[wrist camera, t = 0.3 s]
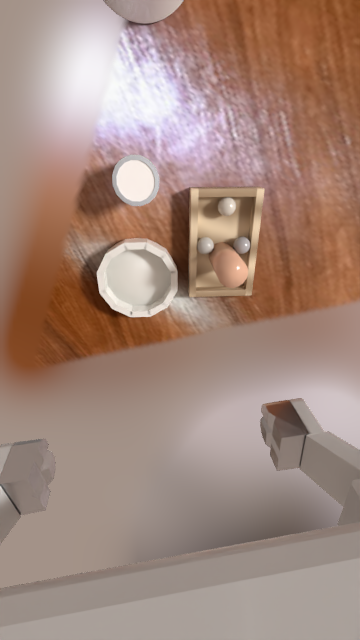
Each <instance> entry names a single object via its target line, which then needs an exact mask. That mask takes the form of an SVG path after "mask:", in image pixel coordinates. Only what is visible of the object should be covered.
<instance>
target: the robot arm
mask: <svg viewBox="0 0 360 640" xmlns="http://www.w3.org/2000/svg"><path fill="white" fill-rule="evenodd" d="M103 1H104V2H105V3H106V4H107V5H108V6H109V7H110V8H111V9H112V10H113V11H114V12H116V13H117V14H118V15H120V16H121V17H123V18H125V19H127V20H129V21H132V22H136V23H154V22H157V21H160V20H162V19H164V18H166V17H168V16H169V15H170V14H172V13H173V12H174V11H175V10H176V9H177V8H178V7H179V6H180V5H181V3H182V2H183V0H103ZM261 412H262V414H263V417H262V418H261V422H260V426H261V433H262V436H263V439H264V441H265V444H266V445H267V446H269V447H270V448H271V450H270V456H271V458H272V460H273V463H274V465H275V467H276V469H277V471H280V470H287V469H294V468H300V470H302V471H303V472H304V473H305V474H306V475H307V476H309V477H310V478H311V479H312V480H313V481H314V482H315V483H316V484H318V485H319V486H320V487H321V488H322V489H323V490H325V491H326V492H327V493H328V494H329V495H330V496H331V497H333V498H334V499H335V500H336V501H337V502H338V503H339V504H341V505H342V506H343V510H342V513H341V515H340V518H339V521H338V526H336V527H330V528H325V529H319V530H314V531H308V532H303V533H298V534H293V535H287V536H282V537H276V538H270V539H265V540H260V541H254V542H249V543H243V544H238V545H232V546H227V547H221V548H216V549H210V550H205V551H200V552H194V553H189V554H184V555H178V556H172V557H167V558H162V559H156V560H151V561H145V562H140V563H135V564H129V565H124V566H118V567H113V568H107V569H102V570H97V571H91V572H86V573H80V574H75V575H70V576H64V577H59V578H54V579H48V580H43V581H37V582H32V583H26V584H21V585H15V586H10V587H5V588H0V640H360V450H359V449H357V448H355V447H354V446H352V445H351V444H348V443H347V442H346V441H344V440H342V439H340V438H339V437H337V436H336V435H334V434H332V433H330V432H329V431H327V432H325V431H324V430H323V428H322V427H321V425H320V424H319V422H318V421H317V419H316V418H315V416H314V415H313V413H312V412H311V410H310V409H309V407H308V406H307V404H306V403H305V401H304V400H303V399H302V398H298V399H291V400H285V401H279V402H272V403H267V404H263V405H262V408H261ZM48 445H49V444H48V443H47V441H46V439H38V440H30V441H23V442H15V443H8V444H1V446H0V544H1V543H2V541H3V540H4V539H5V538H6V536H7V535H8V533H9V532H10V531H11V529H12V528H13V527H14V525H15V524H16V523H17V521H18V520H19V519H20V517H21V516H20V515H24V514H30V513H34V512H39V511H45V510H46V507H47V503H48V499H49V495H50V489H49V488H48V485H49V484H50V482H51V481H52V480H53V479H54V474H55V458H54V455H53V453H52V452H51V451H49V450H47V449H48Z"/></svg>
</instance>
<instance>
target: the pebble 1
mask: <svg viewBox="0 0 360 640" xmlns="http://www.w3.org/2000/svg"><path fill="white" fill-rule="evenodd" d="M213 248H214V243H213V241H212V240H211V239H210V238H208V237H203V238H201V239H199V241H198V242H197V249H198V251H199V252H200V253H201V254H209V253H210V252H212V250H213Z"/></svg>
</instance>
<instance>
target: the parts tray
mask: <svg viewBox="0 0 360 640" xmlns="http://www.w3.org/2000/svg"><path fill="white" fill-rule="evenodd" d="M225 197H230V198H232V199H233V200H234V201H235V203H236V209H235V211H234V213H233V214H232V215H230V216H223V215H222V214H220V212H219V210H218V204H219V202H220V200H221V199H223V198H225ZM263 197H264V188H261V187H190V194H189V269H188V293H189V297H210V296H245V295H252V287H253V279H254V271H255V262H256V254H257V246H258V238H259V230H260V222H261V214H262V205H263ZM203 237H208V238H210V239H211V240H212V241H213V243H214V245H215V244H216V243H219V242H226V243H228V244H230V245H231V246H232V248H233V243H234V241H235V240H236V239H237V238H238V237H246V238H247V239H248V240H249V241H250V249H249V250H248V251H247V252H246V253H244V254H239V253H237V252H236V253H237V254H238V255H239V256H240V258H241V259H242V260H243V261H244V263H245V264H246V265H247V268H248V276H247V278H246V280H245V281H244V283H243V284H241V285H240V286H238V287H234V288H228V287H225V286H223V285H222V284H221V283H220V281H219V279H218V277H217V275H216V273H215V271H214V269H213V267H212V265H211V263H210V261H209V257H208V254H201V253H200V252H199V251H198V249H197V242H198V241H199V239H201V238H203ZM233 249H234V248H233Z"/></svg>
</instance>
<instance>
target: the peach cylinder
mask: <svg viewBox="0 0 360 640" xmlns="http://www.w3.org/2000/svg"><path fill="white" fill-rule="evenodd" d="M208 257H209V261H210V263H211V265H212V267H213V269H214V271H215V273H216V275H217V277H218V279H219V281H220V283H221V284H222V285H223V286H225V287H228V288H234V287H238V286H240V285H241V284H243V283H244V281H245V280H246V278H247V276H248V268H247V265H246V264H245V263H244V261H243V260H242V259H241V258H240V256H239V255H238V254H237V253H236V251H235V250H234V249H233V248H232V246H231V245H230V244H228V243H226V242H219V243H216V244H215V245H214V248H213V250H212V252H210V253H209V254H208Z"/></svg>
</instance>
